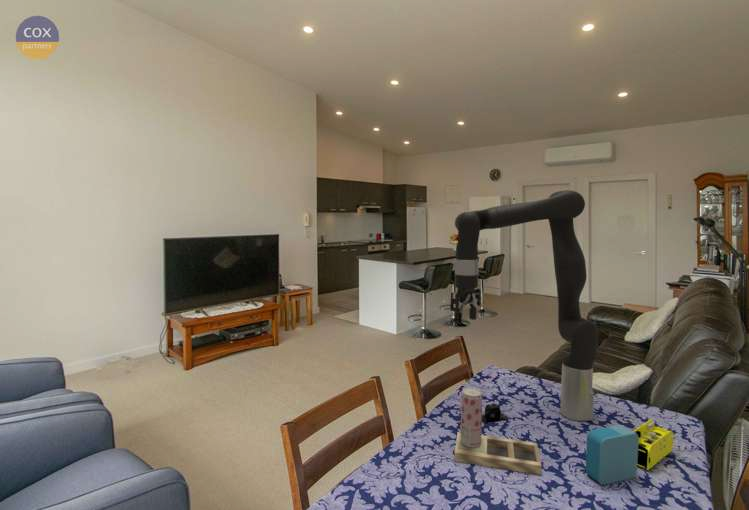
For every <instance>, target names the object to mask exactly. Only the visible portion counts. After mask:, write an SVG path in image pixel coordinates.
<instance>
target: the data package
mask: <svg viewBox="0 0 749 510" xmlns="http://www.w3.org/2000/svg"><path fill="white" fill-rule="evenodd" d="M633 431H634V430H632V429H629V428H627V427H626V426H624V425H623V424H617V425H612V426H608V427H601V428H595V429H590V430H589V431H588V433H587V435H586V450H585V451H586V453H585V455H586V456H585V473H586V474H587V475H588V476H589V477H591V478H592V479H594V481H596V482H598V483H599V484H600V485H602V486H606V485H609V484H613V483H617V482H621V481H625V480H631V479H634V478H635V477H636V475H637V473H638V466H637V461H638V442H639V437H638V435H637V434H636V433H635V432H633Z"/></svg>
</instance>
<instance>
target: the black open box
mask: <svg viewBox="0 0 749 510" xmlns="http://www.w3.org/2000/svg"><path fill="white" fill-rule="evenodd" d="M509 420H510V418H509V417H508V416H506V414H504V413H503V412H502V409H501V407H500V406H499V405H498V404H496V403H491V404H490V403H489V404H485V407H484V414H483V413H482V423H484V424H492V423H497V422H503V421H509Z"/></svg>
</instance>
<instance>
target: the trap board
mask: <svg viewBox="0 0 749 510" xmlns="http://www.w3.org/2000/svg"><path fill="white" fill-rule="evenodd" d="M456 435H457V436H456V440H455V447H454V453H453V454H454V455H453V456H454V459H453V460H454V462H456V463H457V462H458V463H465V464H472V465H477V466H482V467H488V468H495V469H502V470H507V471H513V472H518V473H525V474H531V475H532V474H533V475H537V476H542V470H543V469H542V467H543V465H542V462H541V461H542V460H541V456H540V452H539V446H538V443H537V442H531V441H525V440H520V439H519V440H518V439H511V438H510V439H509V438H505V437H504V438H502V437H498V436H497V437H496V436H492V435H491V436H490V435H483V434H482V436H481V445H480V446H479V447H476V448H470V447H467V446H465V445H463V444H462V442H461V431H457V433H456Z"/></svg>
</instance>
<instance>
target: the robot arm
mask: <svg viewBox="0 0 749 510" xmlns="http://www.w3.org/2000/svg"><path fill="white" fill-rule="evenodd" d="M585 207H586V202H585V199H584V197H583V195H582V194H581V193H580V192H577V191H575V190H568V189H567V190H560V191H555V192H552V193H551V194H550V195H549V197H547V198H543V199H539V200H535V201H527V202H525V201H524V202H517V203H516V202H515V203H510V204H509V203H508V204H503V205H497V206H496V205H495V206H493V207H488V208H484V209H478V210H472V211H465V212H461V213H459V214H458V215H457V216H456V218H455V221H454V225H455V228H456V230H457V243H456V246H455V262H454V287H455V288H457V290H456V292H453V291H452V292H451V293H450V309H449V310H450V311H451V312H454V323H455V324H457V325H461V324H463V310H464V308H465V307H466V306H467V305H469V319H470V320H476V319H477V309H478V308H479V307H480V306H481V304H482V300H481V299H482V298H481V297H482V296H481V295H482V294H481V292H482V291H481V288H478V287H479V257H478V256H479V250H478V249H479V248H478V246H479V245H478V244H479V238H480V232H481V231H484V230H491V229H492V230H496V229H500V228H507V227H511V226H512V227H513V226H517V225H520V224H525V223H532V222H536V221H545V220H548V223H549V229H550V232H551V233H550V234H551V241H552V242H551V243H552V244H551V246H552V254H553V265H554V275H555V281H556V291H557V292H556V293H557V304H558V309H557V313H558V314H557V315H558V317H557V318H558V320H557V323H558V324H557V325H558V326H557V327H558V333H559V335H560V336H561V338H562V339H563V340H564V341H566V342H568V343H570V352H565V353H563V355H562V357H561V359H562V361H561V384H560V386H561V389H560V405H559V406H560V414H561V415H562V416H563V417H565V418H567V419H569V420H572V421H578V422H587V421H594V420H593V419H594V400H595V393H594V390H593V381H594V380H593V376H594V363H595V361H596V359H597V356H598V355H597V354H598V346H599V329H598V327H597V324H595V323H594V322H593V321H592V320H589V319H586V318H583V317H582V316H581V309H580V297H581V295H582V292H583V290H584V287H585V285H586V282H587V267H586V266H587V265H586V260H585V255H584V252H583V250H582V246H581V245H580V243H579V241H578V238H577V236H576V234H575V233H576V232H575V226H574V224H575V223H574V219H576V218H577V217H579V216H580V215H581V214H582V212H583V211H584V209H585Z"/></svg>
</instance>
